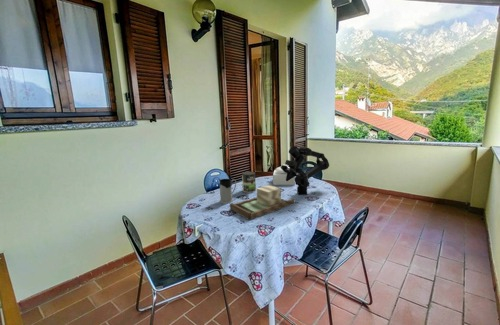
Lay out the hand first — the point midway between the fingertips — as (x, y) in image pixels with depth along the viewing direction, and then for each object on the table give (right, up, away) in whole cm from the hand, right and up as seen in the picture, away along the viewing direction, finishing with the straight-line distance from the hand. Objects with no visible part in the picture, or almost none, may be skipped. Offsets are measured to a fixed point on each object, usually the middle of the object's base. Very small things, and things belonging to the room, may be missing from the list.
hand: (286, 180), depth 168 cm
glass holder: (-39, -14, +5) cm, 42 cm away
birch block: (-12, -13, -7) cm, 19 cm away
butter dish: (+4, -5, +43) cm, 43 cm away
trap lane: (-16, -16, -9) cm, 25 cm away
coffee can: (-25, -10, +24) cm, 36 cm away
